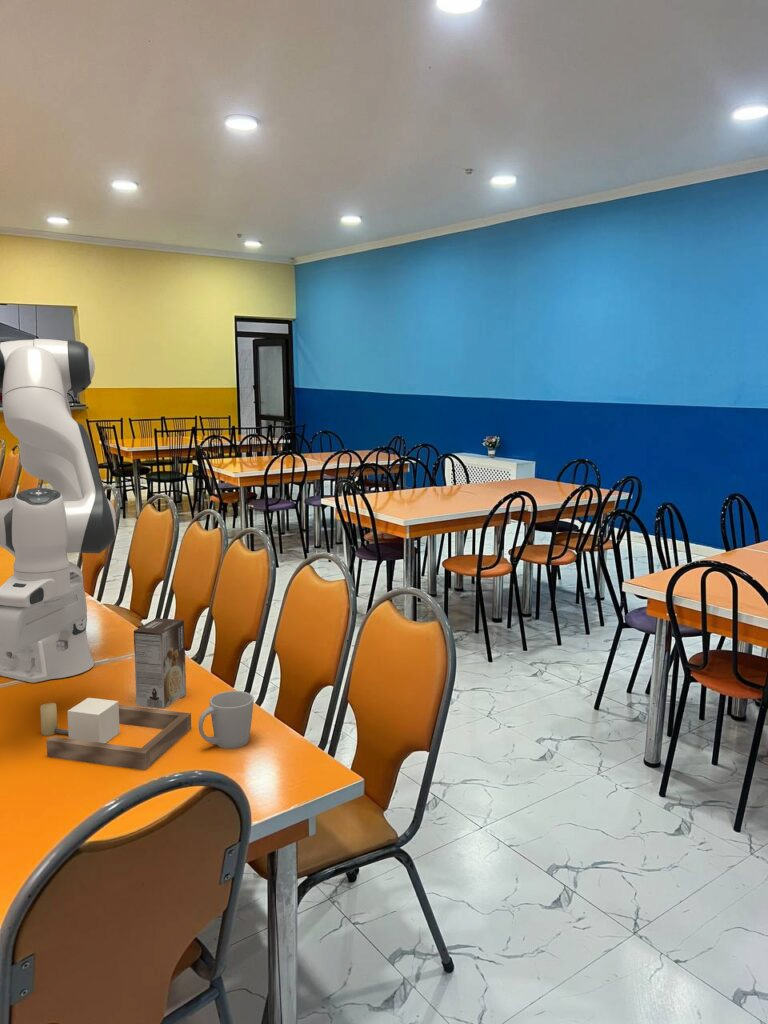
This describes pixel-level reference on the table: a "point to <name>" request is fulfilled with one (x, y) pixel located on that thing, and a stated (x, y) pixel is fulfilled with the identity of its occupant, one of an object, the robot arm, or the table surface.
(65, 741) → the shelf lane
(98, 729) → the white cube and knob
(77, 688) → the table surface
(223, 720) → the cup
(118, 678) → the table surface
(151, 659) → the coffee box
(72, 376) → the robot arm
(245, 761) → the table surface
